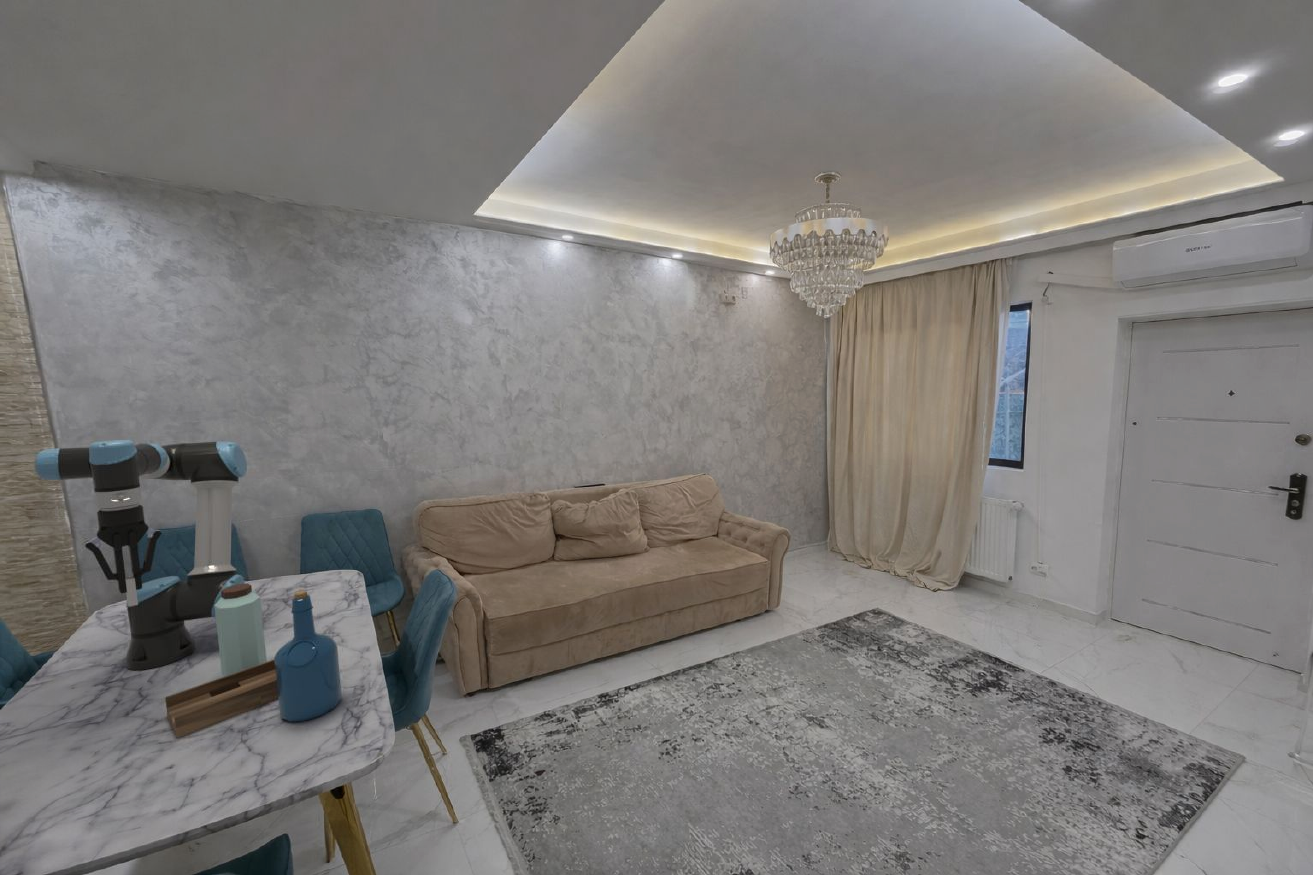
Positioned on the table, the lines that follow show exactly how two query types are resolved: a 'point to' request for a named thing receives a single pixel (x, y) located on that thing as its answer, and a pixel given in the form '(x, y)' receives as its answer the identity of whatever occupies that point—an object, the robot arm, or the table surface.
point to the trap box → (221, 698)
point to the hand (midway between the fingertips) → (132, 604)
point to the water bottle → (239, 629)
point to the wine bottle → (307, 667)
